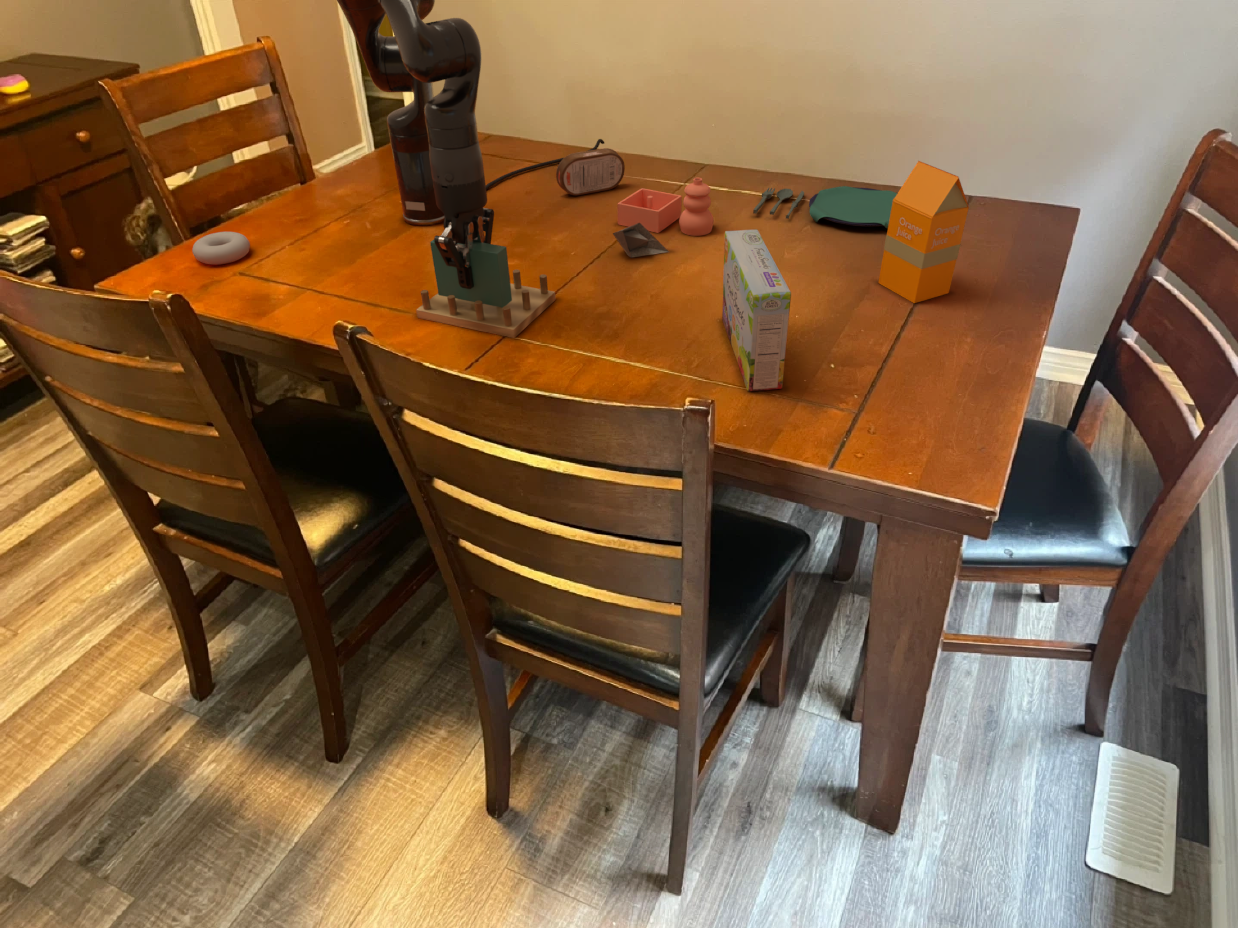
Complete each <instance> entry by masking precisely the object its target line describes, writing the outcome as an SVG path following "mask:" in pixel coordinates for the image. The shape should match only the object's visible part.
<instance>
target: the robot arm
mask: <svg viewBox="0 0 1238 928" xmlns="http://www.w3.org/2000/svg"><path fill="white" fill-rule="evenodd" d="M336 2H337V3H338V5H339V7H340V9H341V11H342V12H343V15H344V17H345V18H346V21H347V23H348V25H349V27H350V29H351V31H352V34H353V36H354V38H355V41H356V43H357V45H358V49H359V52H360V54H361V57H362V59H363V62H364V65H365V68H366V70H367V72H368V75H369V77H370V79H371V81H372V83H373V85H374V86H375V88H376V89H378V90H379V91H381V92H384V93H412V95H413V100H412V101H411V102H409V103H408V104H407V105H405V106H403V107H400V108H398V109H394V110H393V111H391V112H390V113H389V114H388V116H387V117H386V125H387V131H388V137H389V142H390V147H391V153H392V157H393V163H394V169H395V174H396V180H397V187H398V191H399V197H400V202H401V207H402V216H403V221H404V222H406V223H407V224H409V225H413V226H432V225H438V224H440V223H443V228H444V229H443V231H442V233H441V234H440V235H435V236H434V238H433V240H434V242H435V244H436V246H437V248H438V250H439V252H440V254H441V256H442V258H443V260H444V261H445V263H446V265H447V266H452V267H456V268H457V274H458V281H459V285H460V287H462V288H466V289H471V288H473V287H474V283H473V275H472V268H471V266H470V264H471V261H470V252H471V251H472V249H473V242H479V243H488V244H492V236H493V229H494V217H495V210H494V209H493V208H486V207H485V206H486V205H487V203H488V194H487V190H488V189H490V188H491V187H493V186H494V185H496V184H498V183H500V182H502V181H504V180H506V179H508V178H510V177H513V176H516V175H518V174H521V173H524V172H527V171H531V170H535V169H539V168H542V167H546V166H550V165H554V164H559V163H560V162H561V161H562V159H563V158H565V157H566V156H564V157H561V158H555V159H552V160H547V161H544V162H543V161H542V162H540V163H536V164H532V165H529V166H525V167H522V168H519V169H516V170H513V171H510V172H508V173H506V174H504V175H502V176H499V177H497V178H496V179H494V180H492V181H490V182H489V183H487V184H486V178H485V177H486V176H485V170H484V160H483V159H484V158H483V154H482V149H481V146H480V141H479V133H478V123H477V115H476V107H477V100H478V92H479V86H480V85H479V84H480V77H481V69H482V47H481V43H480V39H479V37H478V35H477V33H476V30H475V29H474V27H473V26H472V24H470V23H469V22H468V21H467V20H465V19H464V18H461V17H451V18H445V19H441V20H436V21H431V22H424V20H425V19H426V18H427V17H428V16H429V15H430V13H431V12H432V10H433V8H434V7H435V3H436V0H336ZM386 16H387V19H388V22H389V25H390V28H391V30H392V33H393V35H394V36H384V35H382V34H381V33H380V28H381V26H382V23H383V22H384V19H385V17H386ZM441 81H444V84H443V87H442V90H441V91H440V92H439V93H437V94H436V95H435V93H434V86H433V83H437V82H441ZM600 144H602V145H604V144H605V141H604V139H602V138H598V139H597V141H596V143H595V145H594V146H593V147H592V148H590V149H588V150H587V151H591V150H597V149H599V146H600ZM457 243H460V244H465V245H459V244H457ZM459 252H462V253H463V258H461V256H460V254H459Z"/></svg>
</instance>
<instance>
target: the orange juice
mask: <svg viewBox="0 0 1238 928" xmlns="http://www.w3.org/2000/svg"><path fill="white" fill-rule="evenodd" d="M897 193H898V194H897V195H896V197H895V198H894V199H893V203H892V208H891V214H890V220H889V225H888V228H887V232H886V235H885V241H884V245H883V254H882V259H881V265H880V272H879V276H878V282H877V283H878V284H880V285H881V286H883V287H885V288H886V289H888V290H889V291H891V292H893V293H895V294H897V295H898V296H901V297H902V298H903V299H906V300H907V301H909V302H911V303H913V304H918V303H920V302H923V301H927V300H930V299H935V298H937V297H940V296H943V295H944V296H945V295H946V294H949V293H950V291H951V290H950V289H951V285H952V280H953V276H954V273H955V267H956V263H957V260H958V256H959V253H960V249H961V242H962V238H963V234H964V230H965V226H966V221H967V218H968V217H967V216H968V212H969V209H970V206H969V203H968V200H967V197H966V194H965V191H964V189H963V186H962V182H961V180H960V177H959V176H958V175H956V174H953V173H951V172H948V171H947V170H946V171H945V170H943V169H940V168H938V167H936V166H933V165H931V164H928V163H925V162H922V161H921V160H917V162H916V164H915V166H914V167H913V168H912V170H911V172H910V173H909V175H908V177H907V178H906V180H905V181H904V183H903V184H902V186H901V188H900V189H899V190H898V192H897Z"/></svg>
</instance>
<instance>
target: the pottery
mask: <svg viewBox="0 0 1238 928" xmlns="http://www.w3.org/2000/svg"><path fill="white" fill-rule="evenodd" d="M684 193H685V196H684V197H683V195H679V194H675V193H669V192H664V191H660V190H659V191H658V190H655V189H649V188H643V187H641V188H640V189H638V190H636V191H635V192H633V193H632V194H630V195H628V196H627V197H626V198H624V199H622V200H620V201H619V202H617V204H616V205H617V206H616V207H617V209H616V210H617V225H618V226H623V227H630V226H632V225H635V224H637V223H641V224H642V225H643V226H644V227H645V228H646V229H647V230H648V231H649V232H650V233H657V234H659V233H661V232H662V231H663V230H665V229H666V228H667V227H669V226H670V225H672V224H673V223H674V222H676V221H677V220H678V222H679V228H680V231H681V233H683V234H684V235H687V236H693V237H697V236H698V237H699V236H700V237H701V236H705V235H706V236H707V235H708V234H710V233H711V232H712V230H713V226H714V216H713V214H712V212H711V210H709V208H710V207H711V203H712V200H711V197H710V193H711V187H710V186H709V185H708V184H707V183H704V182H703V178H702V177H694V178H693V182H691V183H688V184H687V185H686V186H685V187H684ZM682 203H683V204H682ZM682 205H683V206H684V208H685V209H684V210H683V211H682Z"/></svg>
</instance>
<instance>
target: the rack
mask: <svg viewBox="0 0 1238 928" xmlns="http://www.w3.org/2000/svg"><path fill="white" fill-rule="evenodd" d="M538 277H539V288H536V287H533V286H532V287H531V286H527V285H526V286H525V285H522V277H521V270H520V269H514V270H512V278H513V279H512V280H513V283H511V282H510V286H511V295H512V301H511V302H509V303H508V304H507V305H506V306H504V307H503V308H502V307H497V306H492V305H487V304H482V301H475V302H471V301H466V300H461V299H456V298H455V296H454V295H449V296H448V297H446V296H441V295H439V294H438V293H436V294H435V295H434V296H432V297H431V298H430V293H429V290H428V289H422V290H421V291H420V296H421V302H422V304H421V305H420V306H419V307H418V308H416V309H415V311H416V317H417V318H418V319H421V320H427V321H431V322H436V323H439V324H444V325H445V324H446V325H450V326H456V327H460V328H465V329H469V330H475V331H479V332H483V333H489V334H492V335H493V334H494V335H499V336H504V337H508V338H512V339H513V338H514V339H515V338H516V337H518V335H519V334H521V333H522V332H523V331H524V330H525V329H526V328H528V326H529V325H530V324H531V323H533V322H534V321H535V319H537V318H538V317H539V316H540V315H541V314H542V313H543V312H544V311H545V310H547V308H549V306H551V304H553V303H555V301H556V291H554V290H549V288H548V287H549V286H548V285H549V284H548V276H547V274H545V273H544V274H540V275H539V276H538Z"/></svg>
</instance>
